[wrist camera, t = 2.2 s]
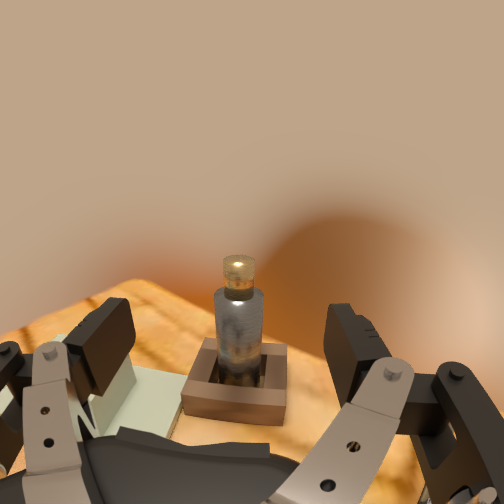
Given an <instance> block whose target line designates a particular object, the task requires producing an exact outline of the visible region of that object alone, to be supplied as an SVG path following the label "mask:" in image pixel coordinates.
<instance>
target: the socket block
mask: <svg viewBox="0 0 504 504" xmlns="http://www.w3.org/2000/svg"><path fill="white" fill-rule="evenodd" d="M260 375H265V380H264V388H252V387H241V386H232V385H223V384H216V383H217V380H218V377H219V370H218V356H217V340H216V339H214V338H205V339H204V341H203V343H202V346H201V348H200V350H199V352H198V355H197V357H196V359H195V362H194V364H193V366H192V368H191V371H190V373H189V375H188V377H187V380H186V382H185V384H184V387H183V389H182V391H181V393H180V395H181V400H182V404H183V408H184V413H185V415H190V416H196V417H202V418H208V419H215V420H222V421H229V422H238V423H247V424H258V425H273V426H283V420H284V414H285V408H286V382H287V344H274V343H262V346H261V367H260Z"/></svg>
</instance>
